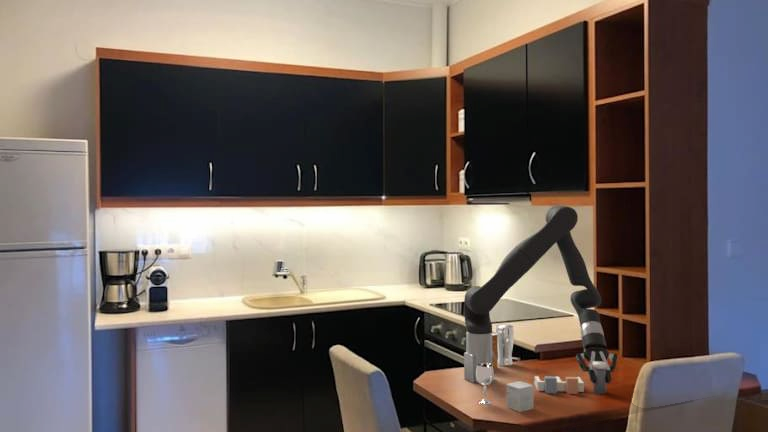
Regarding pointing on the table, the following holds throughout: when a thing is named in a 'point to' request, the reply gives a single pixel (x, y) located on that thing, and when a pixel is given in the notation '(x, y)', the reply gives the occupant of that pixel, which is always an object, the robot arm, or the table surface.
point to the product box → (520, 396)
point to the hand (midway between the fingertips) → (601, 381)
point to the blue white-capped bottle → (600, 377)
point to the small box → (494, 350)
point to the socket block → (559, 384)
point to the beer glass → (505, 344)
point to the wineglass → (484, 378)
